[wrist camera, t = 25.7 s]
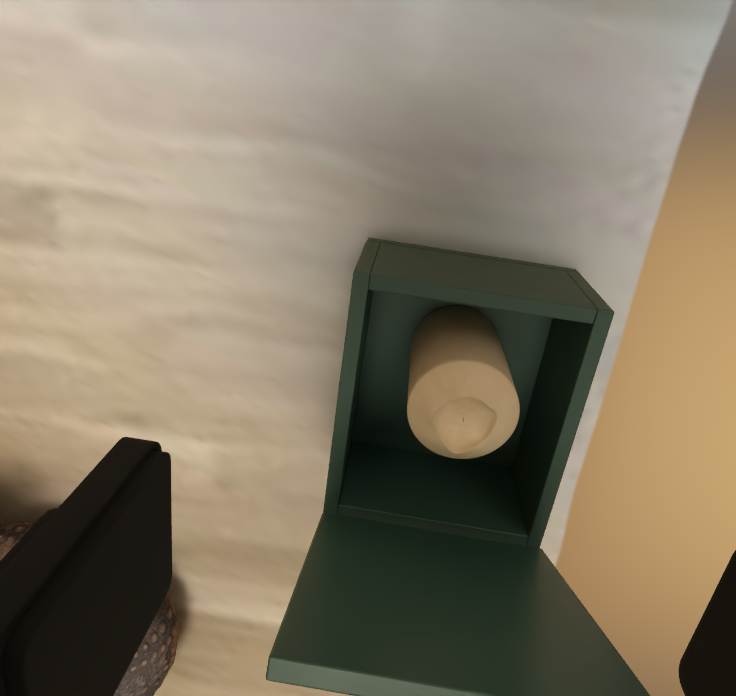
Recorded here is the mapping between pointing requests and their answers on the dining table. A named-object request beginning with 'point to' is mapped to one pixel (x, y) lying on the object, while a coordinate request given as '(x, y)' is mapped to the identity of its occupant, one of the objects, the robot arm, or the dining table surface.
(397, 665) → the lid
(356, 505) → the chest
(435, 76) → the dining table surface
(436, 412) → the candle
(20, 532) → the sea urchin shell
